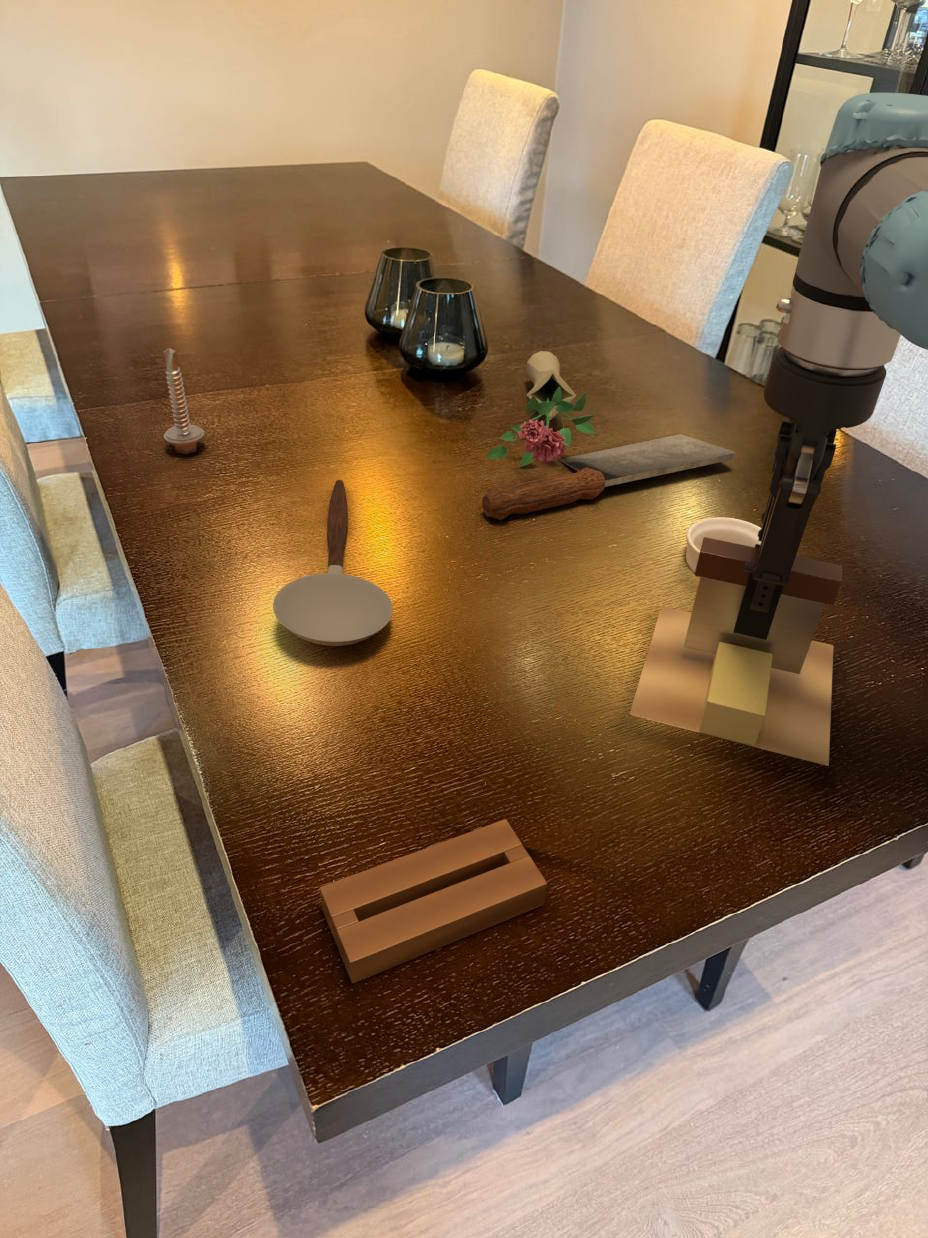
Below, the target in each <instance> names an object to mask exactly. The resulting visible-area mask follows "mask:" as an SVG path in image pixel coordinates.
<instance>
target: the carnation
mask: <svg viewBox="0 0 928 1238" xmlns="http://www.w3.org/2000/svg"><path fill="white" fill-rule="evenodd" d="M525 368H526V369H525V372H526V375H527V377H528V379H529V381H531V383H532V384H533V387H532V388H531V389H530V390H529V392H528V393H527V394H526V396H527V397H528V399H529V401H528V403H527V406H526V409H525V413H529V418H530V419H529V420H525V421H524V422H523V423H518V424H515V425H513V426H510V428H511V430H513V431H514V432H516V433H517V434H514V433H513V431H511V430H510V431H507V432H504V433H503V434H502V436H500V437H499V440H502V441H504V442H511V443H510V444H509V446H508V447H505V446H504V445H503V444H500V445H497V446H495V447H493V448H492V449H490V450H489V451H488V453H486V455H485V458H489V459H491V460H497V459H498V460H499V459H503V458H506V457H507V453H508V450H509V448H510V447H511V446H512V444H513V443H514V442H515V441H516V440H517V438H518V439H519V440H523V439H525V440H524V444H525V446H524V450H525V452H524V453H523V455H522V456H521V459H520V463H519V467H524V466H527V465H530V464H531V463H533V461H535V460H536V461H538V462H540V463H545V464H546V463H553V462H555V461H557V460H558V459H562V456H563V455H565V454H566V450H569V449H570V446H571V443H572V431H571V428H570V427H569V428H568V427H565V426H564V424H562V425H563V426H562V428H561V429H559V430H557V431H553V427H550V421H551V420H552V419H553V418H554V419H559V416H561V417H560V419H561V421H562V422H564V420H569V421H571V422H572V423H573V424H574V425H575V429H576V431H579V432H581V433H583V434H586V435H591V434H593V435H594V434H597V432H596V430H595V427H594V426H593V425H592V424H591V423H590V422H589V421H590V420H591V419H592V418H594V417H595V414H588V415H583V416H579V417H574V418H572V417H571V416H569V415H568V413H571V412H582V411H583V410H584V408H585V405H586V403H587V392H586V391H584V393H583V394H582V395H581V396H579V397H578V399H577V401H576V402H575V404H574V405H573V403H572V401H573V400H574V399H575V398H576V397H577V394H576V393H575V392H574V391H573V389H572V388H571V387H570V386H569V385H568V384H567V382H565V379H563V378H562V377H561V364H560V362H559V359H558V357H557V355H555V354H553V353H552V352H551V351H545V350H543V351H542V350H540V351H538V352H535V353H533V354H532V355H531V356H530V358H529V359H528V360H527V362H526V367H525ZM536 412H538V414H539V415H537V416H535V417H534V418H533V417H532V418H531V416H532V415H533V414H534V413H536ZM559 413H560V414H559ZM563 415H566V416H567V418H566V417H564V416H563ZM543 416H545V419H544V420H541V421H538V419H540V418H541V417H543ZM515 436H516V437H515ZM514 437H515V438H514ZM558 461H559V460H558Z"/></svg>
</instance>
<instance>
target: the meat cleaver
mask: <svg viewBox="0 0 928 1238" xmlns="http://www.w3.org/2000/svg"><path fill="white" fill-rule="evenodd" d="M735 459H736V451H734V450H731V449H727V448H724V447H721V446H718V445H715V444H712V443H709V442H706V441H703V440H700V439H697V438H694V437H690V436H688V435H685V434H682V433H679V434H674V435H670V436H664V437H660V438H655V439H650V440H645V441H641V442H640V441H639V442H635V443H631V444H626V445H621V446H617V447H612V448H607V449H602V450H597V451H592V452H587V453H583V454H577V455H573V456H568V457H564V458H560V459H558V461H559V462H561V463H563V464H564V465H566V466H568V467H570V468H571V469H573V470H574V471H576V472H571V473H560V474H555V475H551V476H546V477H542V478H541V477H540V478H537V479H532V480H528V481H523V482H518V483H515V484H513V485H512V486H509V487H507V488H501V487H495V486H494V487H492V488H491V489H490V490H489V491H487V492H486V493H485V494H484V495H483V496H482V500H481V505H482V510H483V513H484V514H485V515H486V517H489V518H491V519H495V520H499V521H502V520H504V519H505V518H507V517H508V516H510V515H524V514H529V513H532V512H533V513H534V512H537V511H543V510H546V509H550V508H555V507H559V506H565V505H568V504H571V503H573V502H575V501H578V500H589V501H592V500H594V499H596V498H597V496H599V495H600V494H601V493H602V492H603V491H604V490H605V488H606V487H611V486H616V485H620V484H625V483H629V482H634V481H638V480H644V479H648V478H652V477H657V476H662V475H667V474H671V473H676V472H681V471H686V470H691V469H694V468H700V467H705V466H710V465H714V464H718V463H722V462H728V461H732V460H735Z"/></svg>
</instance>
